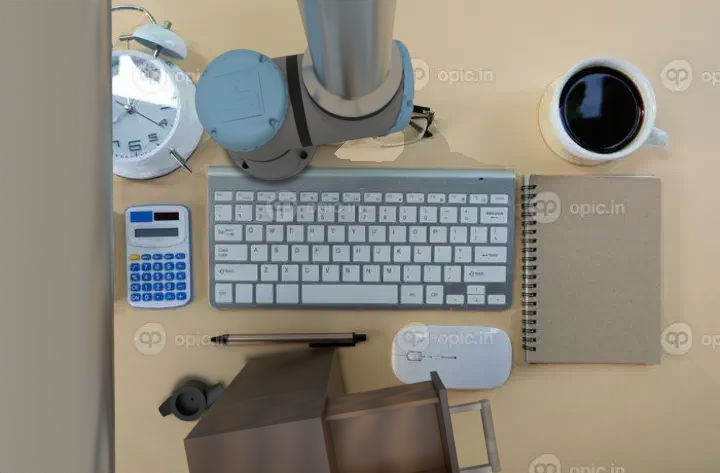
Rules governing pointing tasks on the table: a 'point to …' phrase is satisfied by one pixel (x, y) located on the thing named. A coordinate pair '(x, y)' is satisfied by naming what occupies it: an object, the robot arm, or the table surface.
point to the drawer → (401, 431)
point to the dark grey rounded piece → (191, 400)
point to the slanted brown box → (269, 417)
